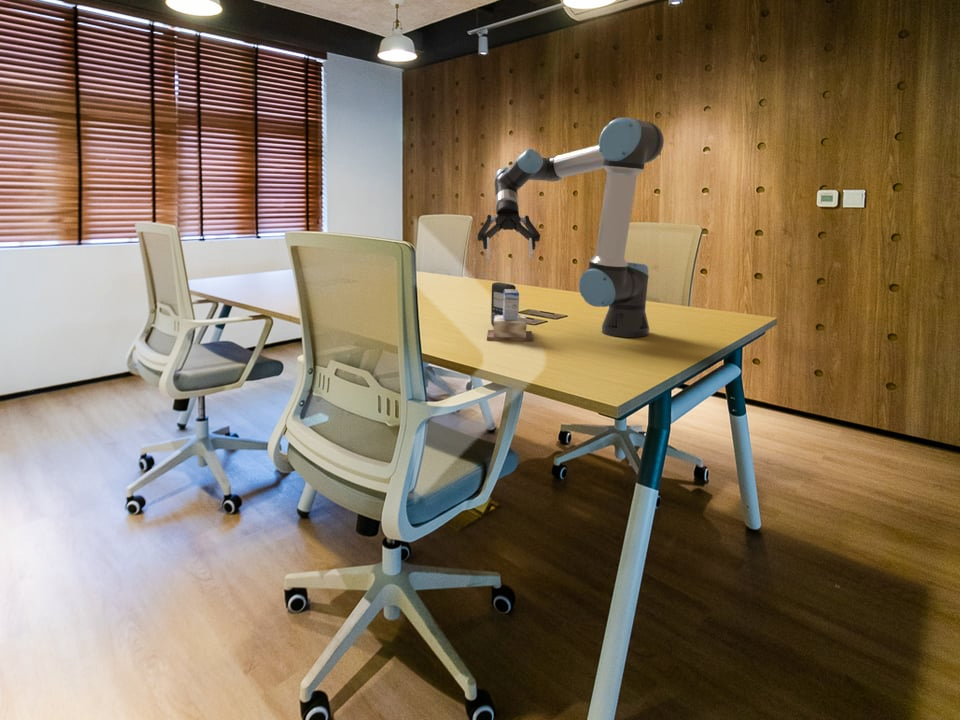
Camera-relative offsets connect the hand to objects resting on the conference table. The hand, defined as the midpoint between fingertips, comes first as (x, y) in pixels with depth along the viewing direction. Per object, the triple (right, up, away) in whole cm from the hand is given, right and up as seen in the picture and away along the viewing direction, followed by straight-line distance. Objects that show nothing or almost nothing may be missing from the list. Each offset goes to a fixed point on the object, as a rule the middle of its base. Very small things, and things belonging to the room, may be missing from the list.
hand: (509, 256), depth 192 cm
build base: (0, -26, -1) cm, 26 cm away
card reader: (-2, -22, +13) cm, 26 cm away
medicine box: (0, -20, -3) cm, 20 cm away
